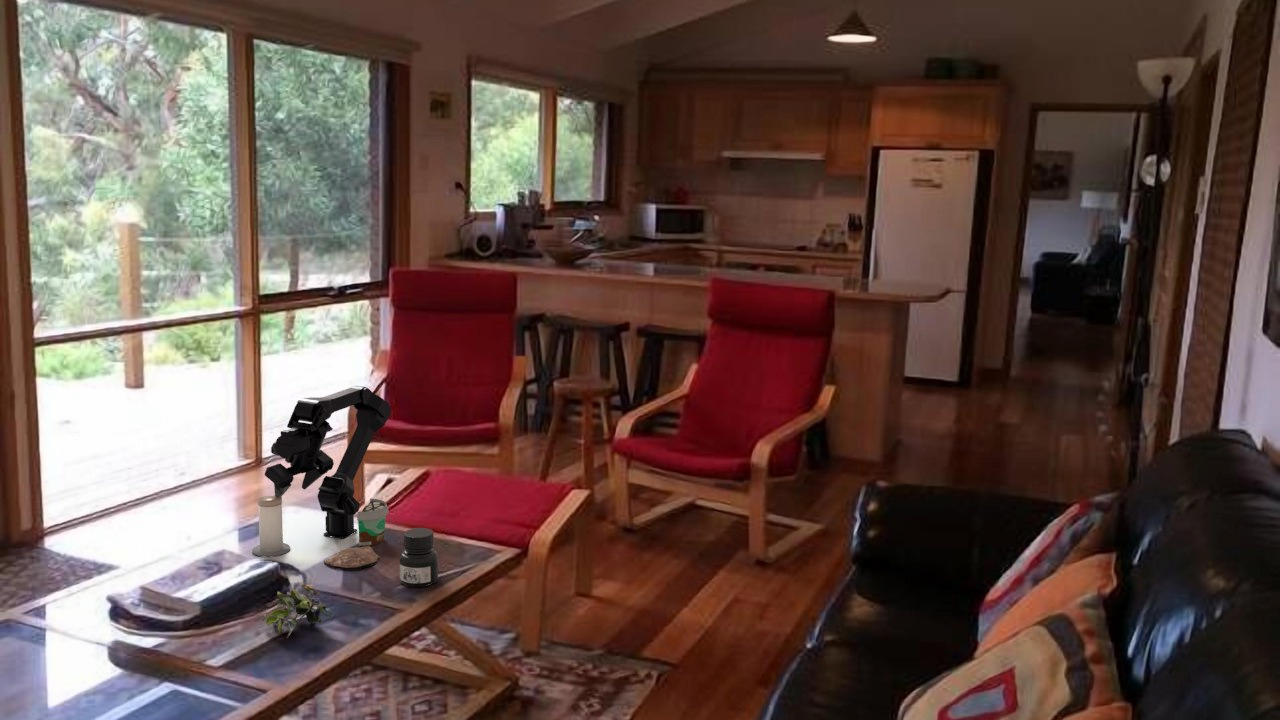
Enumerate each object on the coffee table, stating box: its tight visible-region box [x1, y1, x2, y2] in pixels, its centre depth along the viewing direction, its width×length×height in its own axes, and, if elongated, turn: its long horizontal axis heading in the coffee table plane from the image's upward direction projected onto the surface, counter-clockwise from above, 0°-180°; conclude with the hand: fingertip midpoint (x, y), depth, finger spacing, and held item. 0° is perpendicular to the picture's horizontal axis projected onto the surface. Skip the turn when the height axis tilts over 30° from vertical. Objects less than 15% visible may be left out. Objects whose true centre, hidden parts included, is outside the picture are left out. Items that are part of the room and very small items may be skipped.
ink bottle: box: [399, 527, 439, 588], centre depth 244 cm, size 10×9×12 cm
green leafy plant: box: [261, 584, 333, 639], centre depth 216 cm, size 11×11×12 cm
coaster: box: [251, 542, 291, 558], centre depth 261 cm, size 9×9×1 cm
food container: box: [356, 497, 390, 548], centre depth 268 cm, size 12×6×10 cm, turn 179°
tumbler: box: [257, 495, 284, 552], centre depth 260 cm, size 6×6×13 cm
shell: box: [323, 546, 380, 571], centre depth 255 cm, size 12×13×4 cm
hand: (290, 493), depth 268 cm, fingers open, 9 cm apart
